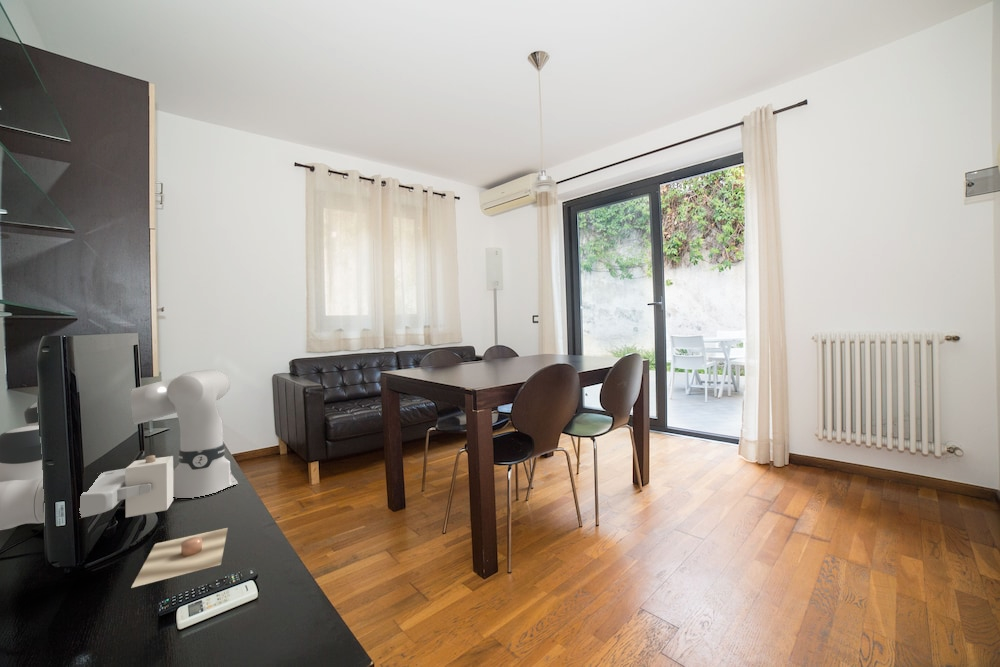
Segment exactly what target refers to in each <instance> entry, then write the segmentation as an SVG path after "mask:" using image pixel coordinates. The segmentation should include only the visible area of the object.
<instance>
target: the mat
mask: <svg viewBox="0 0 1000 667" xmlns="http://www.w3.org/2000/svg"><path fill="white" fill-rule="evenodd" d="M228 529H229V527H226V528H225V527H224V528H220V529H216V530H211V531H206V532H203V533H196V534H194V535H188V536H184V537H180V538H175V539H170V540H166V541H162V542H157V543H155V544H154V545H153V547H152V548H151V550H150V553H149V554H148V556H147V558H146V560H145V561H144V563H143V565H142V567H141V569H140V570H139V572H138V574H137V576H136V578H135V579H134V582H133V583H132V585H131V587H130V588H131V589H133V588H137V587H140V586H144V585H148V584H152V583H155V582H160V581H164V580H167V579H171V578H176V577H180V576H184V575H187V574H190V573H191V574H192V573H195V572H198V571H202V570H206V569H209V568H214V567H218V566H221V565H222V562H223V561H222V560H223V556H224V551H225V550H224V549H225V544H226V540H227V534H228ZM193 537H201V538H202V551H201V552H199V553H197V554H195V555H192V556H187V557H183V556H182V555H181V543H182V542H183V541H185V540H187V539H189V538H193Z"/></svg>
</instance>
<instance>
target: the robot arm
mask: <svg viewBox="0 0 1000 667" xmlns="http://www.w3.org/2000/svg"><path fill="white" fill-rule="evenodd" d="M230 387H231V381H230V378H229V377H228V375H227V374H225V373H223V372H222V371H219V370H216V369H203V370H196V371H195V370H194V371H188V372H185V373H182V374H180V375H179V376H177V377H174V378H170V379H166V380H162V381H157V382H154V383H150V384H145V385H141V386H138V387H135V388H131V389H132V391H131V409H132V417H133V422H134V424H135V425H140V424H142V423H146V422H149V421H153V420H155V419H160V418H163V417H166V416H170V415H173V414H176V416H177V420H178V422H179V437H180V438H179V439H180V441H179V442H180V449H179V450H178V456H177V457H178V462H179V464H177V466H175V467H174V468H173V497H176V498H175V499H177V498H192V499H195V498H194V497H199V498H201V497H200V496H204V497H206V496H205V495H209V494H212V493H216V492H218V491H220V490H223V489H225V488H227V487H230V486H233V485H236V484H238V485H239V483H238V482H239V481H238V480H237V479H236V478H235V477H234V474H233V473H232V472H233V471H232V470H231V461H230V460H229V459H227V458H226V456H225V455H226V447H225V446H226V445H225V443H224V431H223V430H224V428H223V427H224V425H223V419H222V418H221V416H220V414H219V411H218V406H217V401H218V400H220V399H222V398H223V397H225V395H227V393H228V392H229V390H230ZM37 402H38V401H36V402H35V403H33V404H32V405H30V406H29V407H27V408H26V409H25V411H24V412H23V414H24V415H23V416H24V420H25V423H26V424H27V426H22V427H17V428H13V429H10V430H8V431H5V432H2V433H0V531H3V530H8V529H9V530H10V529H13V528H15V527H18V526H21V525H26V524H43V523H44V524H43V525H44V526H45V503H44V489H43V470H42V454H41V443H40V436H39V425H38V413H37ZM135 425H134V426H135ZM100 473H101V474H100V475H99V476H98V478H97V479H96V480H95V482H94V483H93V485H92V486H91V487H90V488H89V490H88V491H87V492H83V493H82V494H81V496H80V508H79V511H80V512H79V513H80V514H81V515H80V516H81V518H80V519H83V518H86V517H92V516H95V515H99V514H103V513H106V512H108V511H111V510H113V509H114V508H115V507H116V506H117V505H118V504H119V503H120V502H121V501H122V500H126V499H127V498H130V497H133V496H137V495H139V494H145V493H149V492H150V491H151V490H152V483H150V482H149V483H143V484H140V485H136V486H131V487H128V486H127V487H125V468H120V469H115V470H108V471H103V473H102V472H100ZM236 486H237V485H236ZM216 494H217V493H216ZM212 495H213V494H212ZM209 496H210V495H209Z"/></svg>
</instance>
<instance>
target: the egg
mask: <svg viewBox="0 0 1000 667" xmlns="http://www.w3.org/2000/svg"><path fill="white" fill-rule="evenodd" d="M201 551H202V538H201V537H193V538H189V539H187V540H185V541H183V542H182V543H181V555H182V556H183V557H187V556H192V555H195V554H197V553H199V552H201Z"/></svg>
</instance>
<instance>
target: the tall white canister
mask: <svg viewBox="0 0 1000 667" xmlns="http://www.w3.org/2000/svg"><path fill="white" fill-rule="evenodd" d="M124 469H125V487H127V486H128V487H131V486H136V485H140V484H143V483H149V482H150V483H152V490H151V491H150V492H149V493H145V494H139V495H137V496H133V497H130V498H127V499H125V518H130V517H136V516H141V515H142V516H144V515H147V514H152V513H153V514H154V513H157V512H164V511H167V510H168V509H169V507H171V505H172V503H173V502H174V498H173V470H174V455H170V456H169V455H168V456H162V457H156V455H155V454H151V455H147V456H145V458H144V459H138V460H134V461H133V462H132V463H131V464H129V465H128V466H126V468H124Z"/></svg>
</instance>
